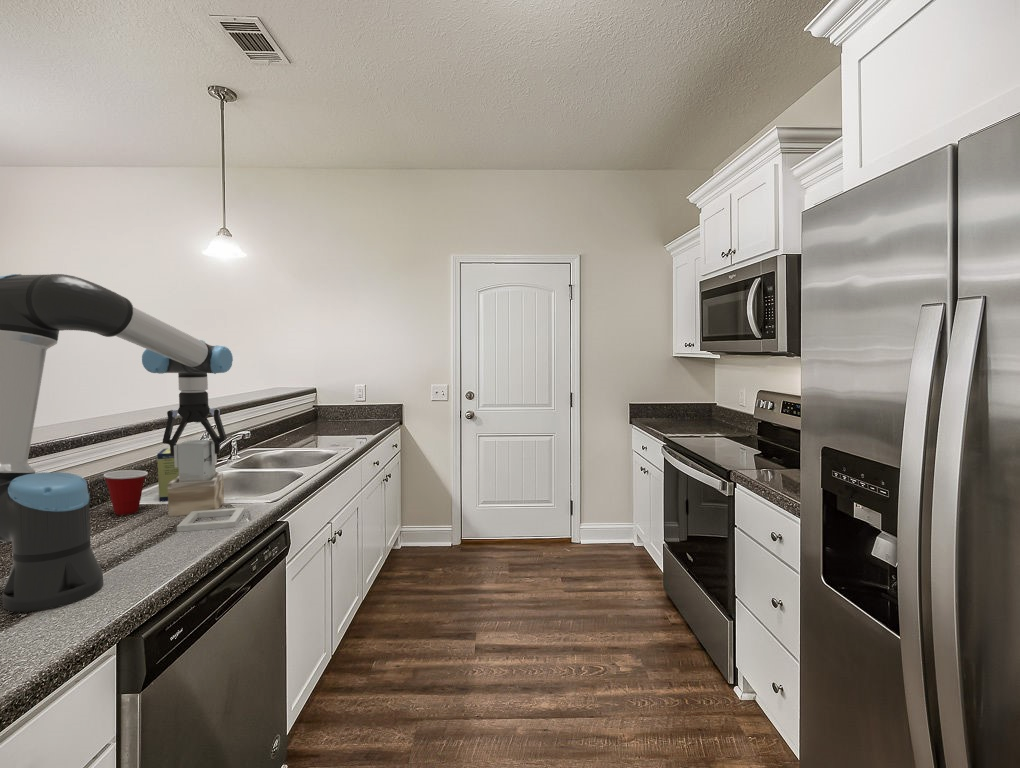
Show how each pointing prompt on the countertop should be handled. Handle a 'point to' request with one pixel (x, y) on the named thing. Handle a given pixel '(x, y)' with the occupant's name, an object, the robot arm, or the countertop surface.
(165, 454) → the protein box
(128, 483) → the plastic cup
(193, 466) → the supplement box
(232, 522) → the white flat square frame
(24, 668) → the countertop surface
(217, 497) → the tray
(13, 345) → the robot arm
